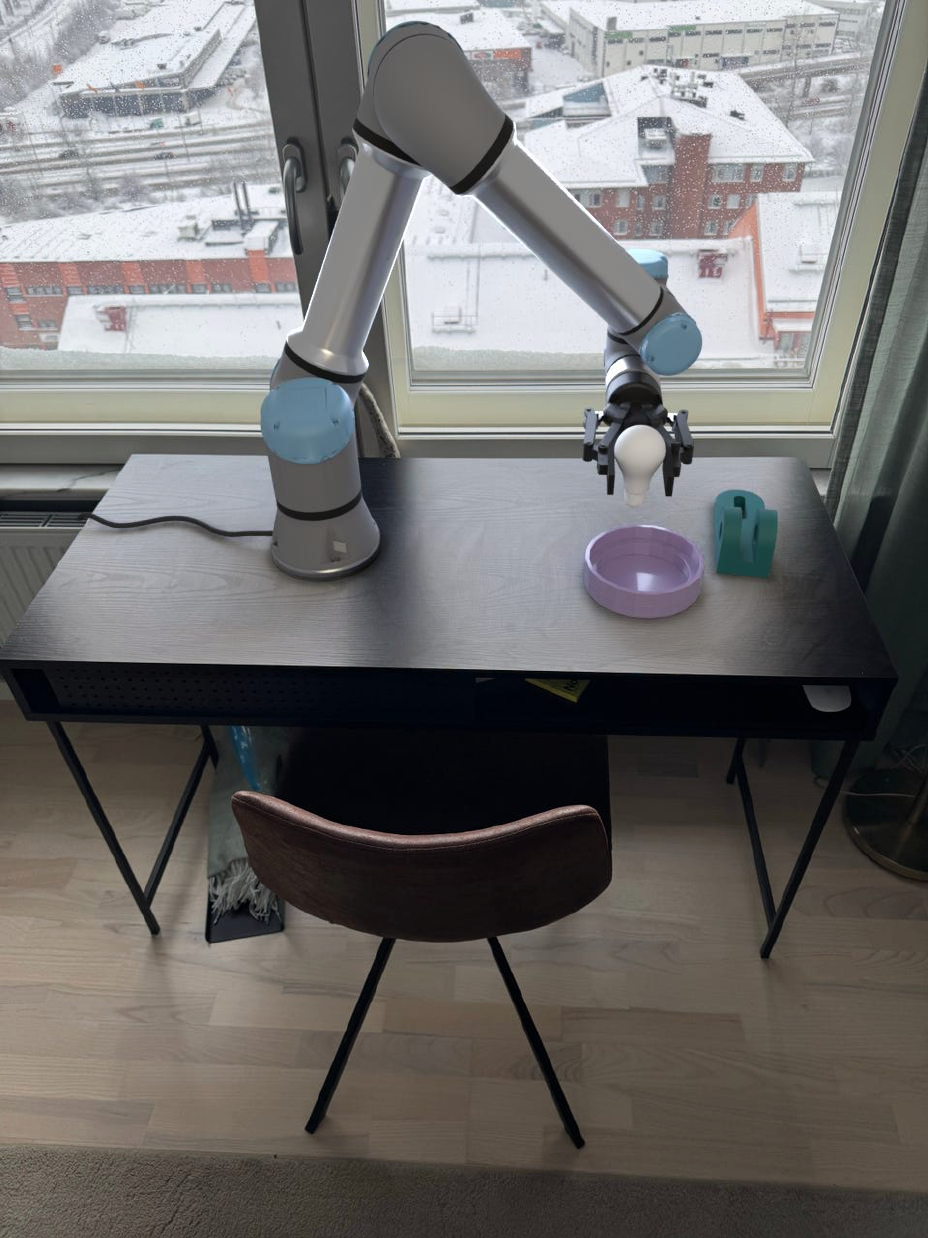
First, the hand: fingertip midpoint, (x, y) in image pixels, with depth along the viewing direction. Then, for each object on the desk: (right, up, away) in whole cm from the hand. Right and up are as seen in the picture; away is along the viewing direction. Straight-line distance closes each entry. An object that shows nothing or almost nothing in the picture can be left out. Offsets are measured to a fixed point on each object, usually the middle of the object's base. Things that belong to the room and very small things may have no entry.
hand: (640, 485), depth 109 cm
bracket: (+18, -4, +22) cm, 29 cm away
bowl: (+3, -11, +14) cm, 18 cm away
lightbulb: (+1, -2, +8) cm, 8 cm away
